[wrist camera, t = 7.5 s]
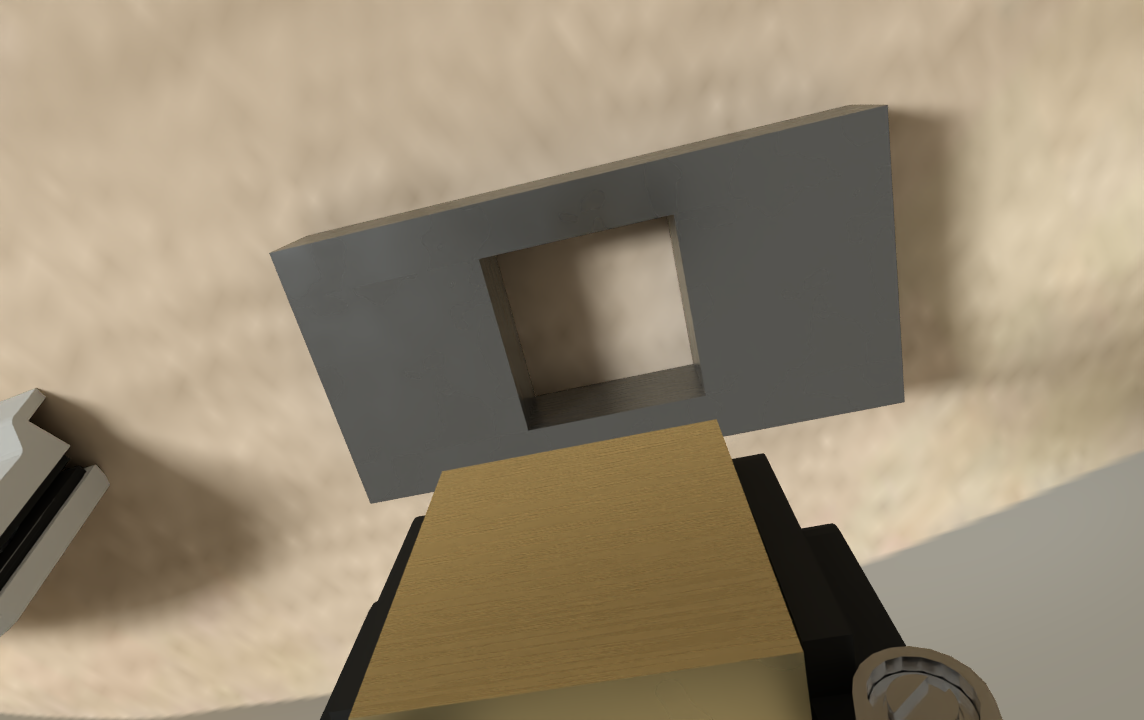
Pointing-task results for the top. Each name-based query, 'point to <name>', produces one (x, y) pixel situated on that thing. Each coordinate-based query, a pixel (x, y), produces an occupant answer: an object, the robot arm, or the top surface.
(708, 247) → the grey square hole block
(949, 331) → the top surface
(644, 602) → the brass cube
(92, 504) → the hinge
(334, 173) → the top surface
